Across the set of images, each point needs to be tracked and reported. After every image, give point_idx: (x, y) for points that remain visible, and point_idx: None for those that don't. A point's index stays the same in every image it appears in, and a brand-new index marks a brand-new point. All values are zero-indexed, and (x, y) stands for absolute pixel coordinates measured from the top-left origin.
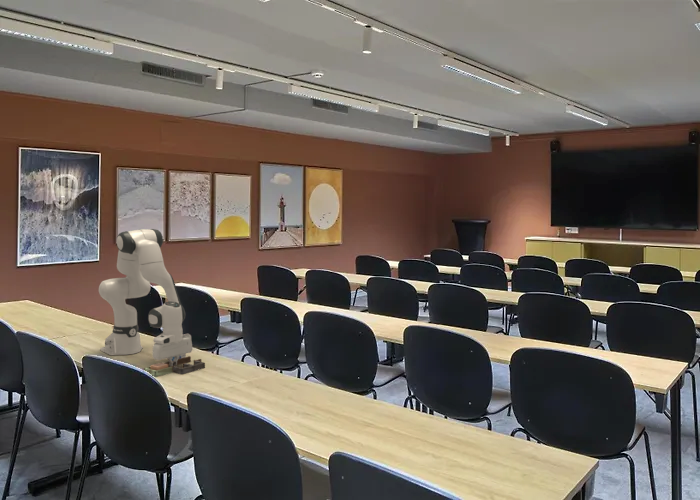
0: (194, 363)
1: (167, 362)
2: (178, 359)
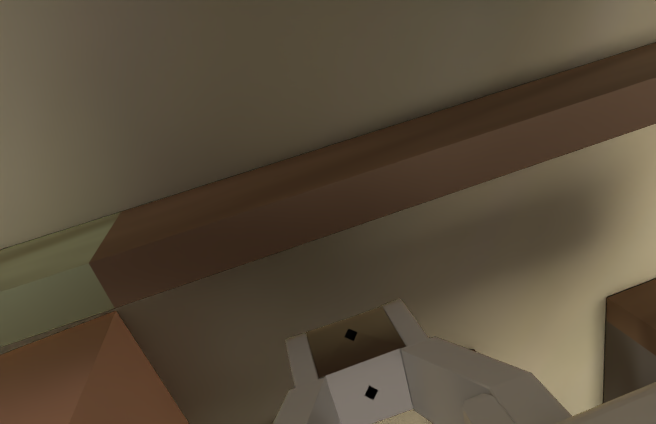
0: (637, 337)
1: (291, 242)
2: (588, 131)
